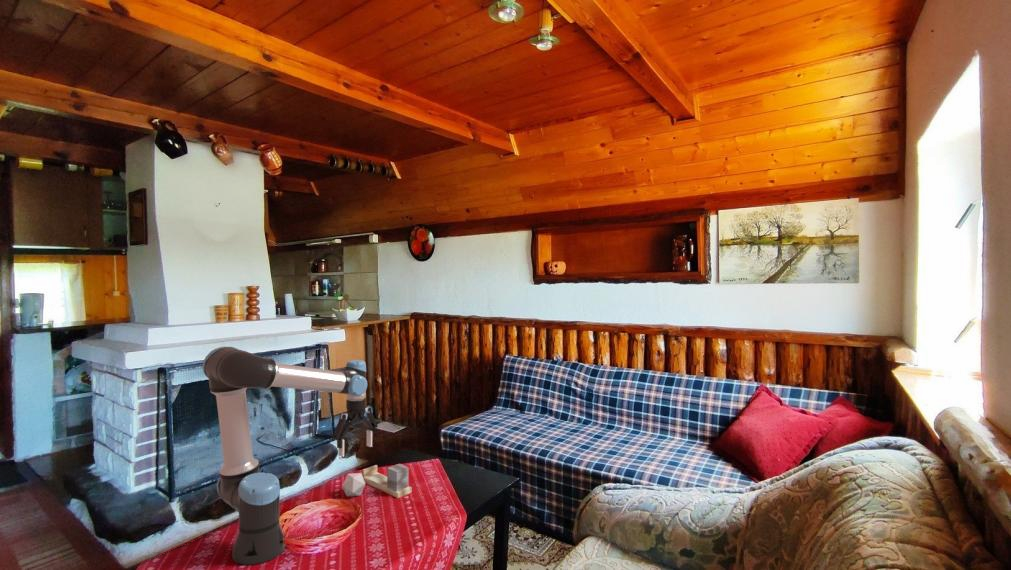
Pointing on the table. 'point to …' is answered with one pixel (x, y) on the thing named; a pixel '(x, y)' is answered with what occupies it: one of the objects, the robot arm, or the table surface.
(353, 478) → the die
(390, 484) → the rail
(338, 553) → the table surface
